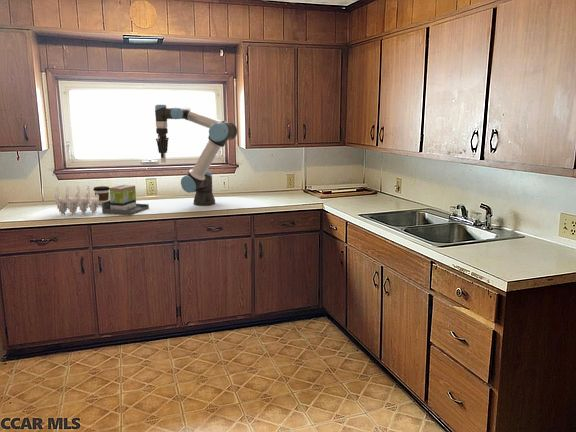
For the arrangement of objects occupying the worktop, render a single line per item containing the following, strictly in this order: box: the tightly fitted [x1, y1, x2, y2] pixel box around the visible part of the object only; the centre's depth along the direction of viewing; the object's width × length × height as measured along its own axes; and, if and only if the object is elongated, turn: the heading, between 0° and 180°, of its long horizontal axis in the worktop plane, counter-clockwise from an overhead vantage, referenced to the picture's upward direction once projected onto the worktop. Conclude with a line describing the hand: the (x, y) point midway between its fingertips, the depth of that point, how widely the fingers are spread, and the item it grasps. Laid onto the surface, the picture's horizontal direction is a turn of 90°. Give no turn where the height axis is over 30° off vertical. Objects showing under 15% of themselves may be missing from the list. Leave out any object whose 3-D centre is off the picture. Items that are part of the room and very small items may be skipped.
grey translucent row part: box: [54, 185, 99, 216], centre depth 301 cm, size 18×18×25 cm
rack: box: [101, 199, 150, 216], centre depth 311 cm, size 20×22×7 cm
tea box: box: [109, 184, 137, 210], centre depth 310 cm, size 15×10×15 cm, turn 167°
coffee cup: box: [92, 185, 111, 206], centre depth 332 cm, size 11×11×12 cm
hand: (163, 162), depth 328 cm, fingers closed
